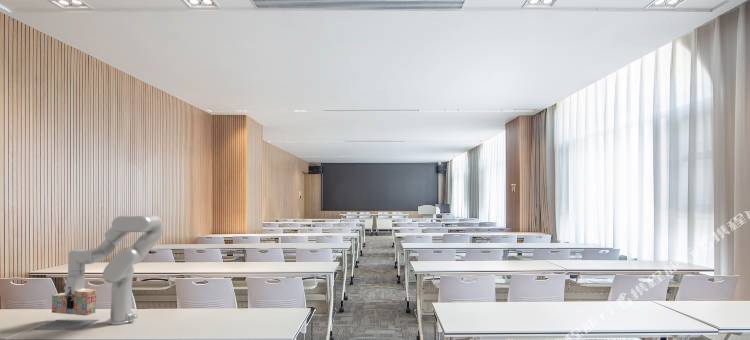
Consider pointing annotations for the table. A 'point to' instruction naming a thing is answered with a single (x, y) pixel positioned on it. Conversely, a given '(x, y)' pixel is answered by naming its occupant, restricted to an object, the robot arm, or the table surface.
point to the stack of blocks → (75, 303)
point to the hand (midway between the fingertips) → (74, 306)
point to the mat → (67, 324)
